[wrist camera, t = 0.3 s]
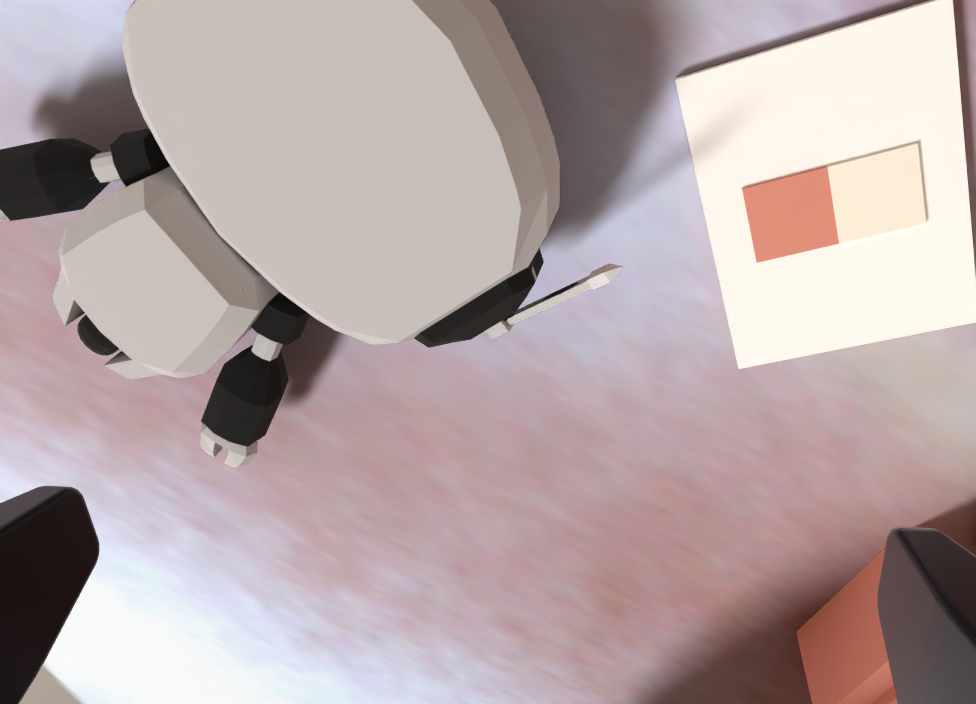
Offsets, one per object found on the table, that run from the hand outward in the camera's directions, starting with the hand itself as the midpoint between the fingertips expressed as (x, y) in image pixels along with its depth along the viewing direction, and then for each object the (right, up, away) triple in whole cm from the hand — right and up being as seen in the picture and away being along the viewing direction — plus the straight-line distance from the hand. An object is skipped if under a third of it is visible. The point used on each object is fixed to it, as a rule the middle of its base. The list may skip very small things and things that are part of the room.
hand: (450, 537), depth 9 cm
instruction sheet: (+9, +6, +11) cm, 15 cm away
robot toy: (-5, +7, +14) cm, 16 cm away
